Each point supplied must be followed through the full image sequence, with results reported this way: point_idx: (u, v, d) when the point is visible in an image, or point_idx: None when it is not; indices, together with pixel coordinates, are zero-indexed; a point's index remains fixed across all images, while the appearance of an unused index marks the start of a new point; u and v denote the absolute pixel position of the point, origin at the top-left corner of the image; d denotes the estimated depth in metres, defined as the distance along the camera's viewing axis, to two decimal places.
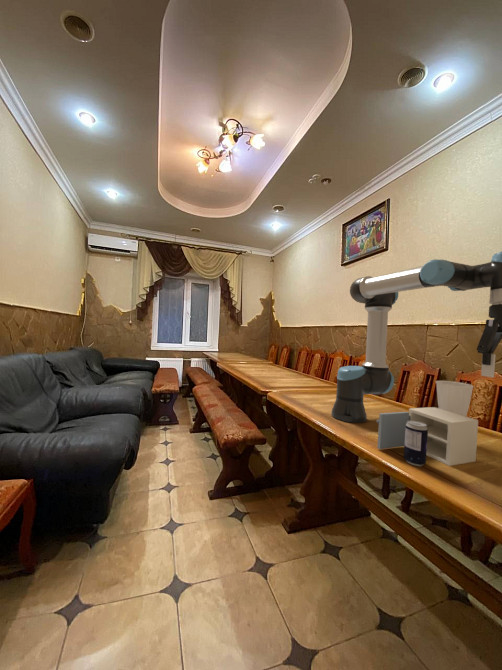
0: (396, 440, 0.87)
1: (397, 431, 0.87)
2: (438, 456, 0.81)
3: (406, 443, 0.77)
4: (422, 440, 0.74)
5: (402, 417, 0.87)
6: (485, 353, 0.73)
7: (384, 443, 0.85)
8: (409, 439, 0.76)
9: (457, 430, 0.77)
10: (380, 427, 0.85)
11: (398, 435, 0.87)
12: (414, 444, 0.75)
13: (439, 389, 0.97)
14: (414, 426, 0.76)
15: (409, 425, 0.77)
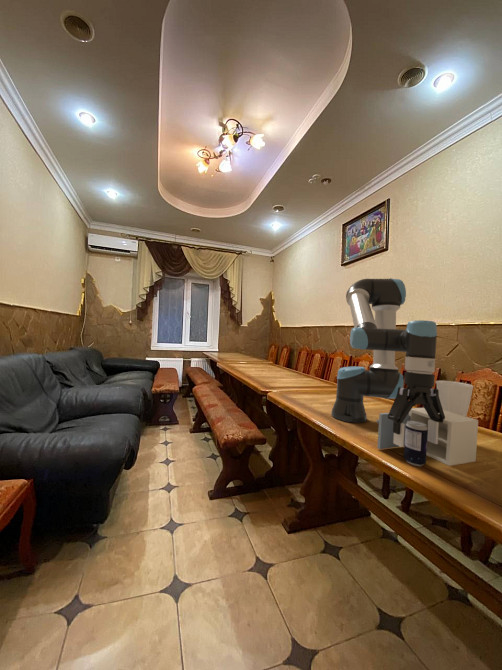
0: None
1: None
2: (438, 456, 0.81)
3: (406, 443, 0.77)
4: (422, 440, 0.74)
5: None
6: (395, 422, 0.73)
7: (384, 443, 0.85)
8: (409, 439, 0.76)
9: (457, 430, 0.77)
10: (380, 427, 0.85)
11: None
12: (414, 444, 0.75)
13: (439, 389, 0.97)
14: (414, 426, 0.76)
15: (409, 425, 0.77)
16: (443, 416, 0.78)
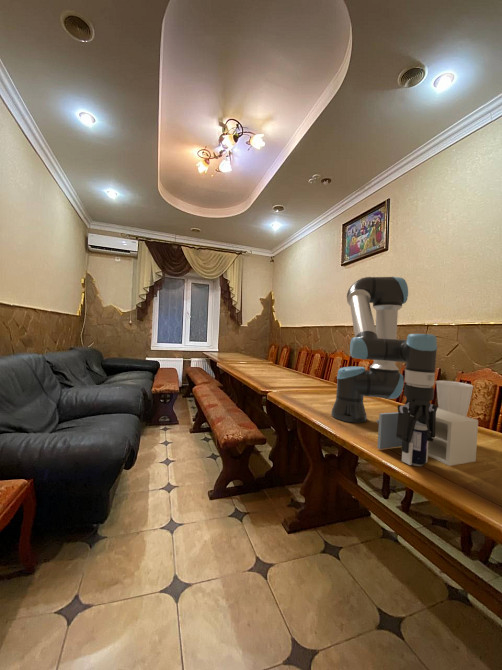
0: (396, 440, 0.87)
1: None
2: (438, 456, 0.81)
3: None
4: (422, 440, 0.74)
5: None
6: (403, 441, 0.76)
7: (384, 443, 0.85)
8: None
9: (457, 430, 0.77)
10: (380, 427, 0.85)
11: None
12: (414, 444, 0.75)
13: (439, 389, 0.97)
14: None
15: None
16: (433, 434, 0.78)
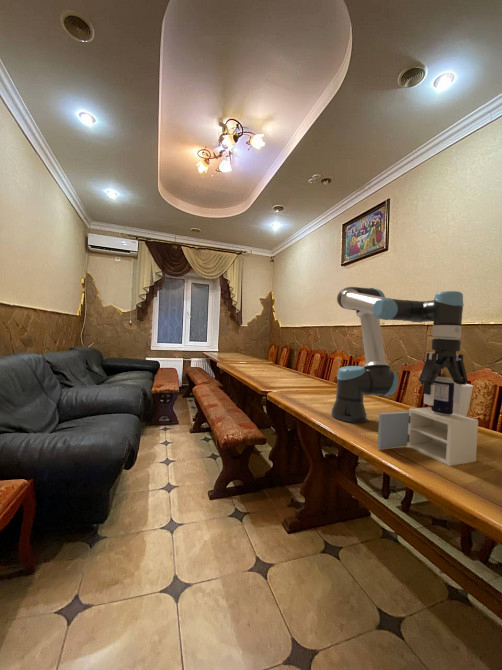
0: (396, 440, 0.87)
1: (397, 431, 0.87)
2: (438, 456, 0.81)
3: (434, 396, 0.85)
4: (450, 392, 0.82)
5: (402, 417, 0.87)
6: (426, 384, 0.82)
7: (384, 443, 0.85)
8: (437, 392, 0.84)
9: (457, 430, 0.77)
10: (380, 427, 0.85)
11: (398, 435, 0.87)
12: (442, 396, 0.83)
13: None
14: (442, 379, 0.83)
15: (437, 379, 0.84)
16: (466, 379, 0.87)
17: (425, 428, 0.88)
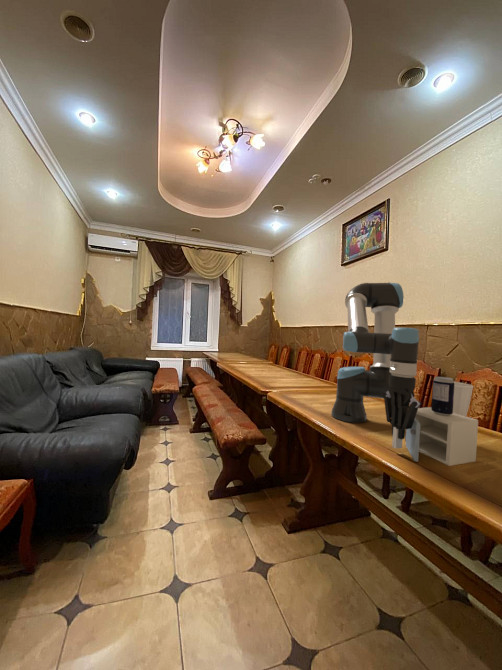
0: None
1: None
2: (438, 456, 0.81)
3: (434, 396, 0.85)
4: (450, 392, 0.82)
5: None
6: None
7: None
8: (437, 392, 0.84)
9: (457, 430, 0.77)
10: (418, 437, 0.77)
11: None
12: (442, 396, 0.83)
13: None
14: (442, 380, 0.83)
15: (437, 379, 0.84)
16: (404, 426, 0.80)
17: (425, 428, 0.88)
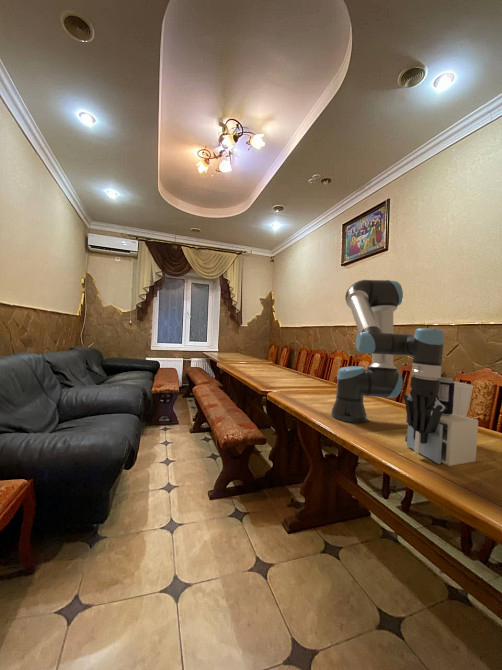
0: None
1: None
2: None
3: None
4: (450, 392, 0.82)
5: None
6: None
7: None
8: None
9: (457, 430, 0.77)
10: (441, 439, 0.77)
11: None
12: (442, 396, 0.83)
13: None
14: (442, 380, 0.83)
15: None
16: (427, 430, 0.77)
17: None
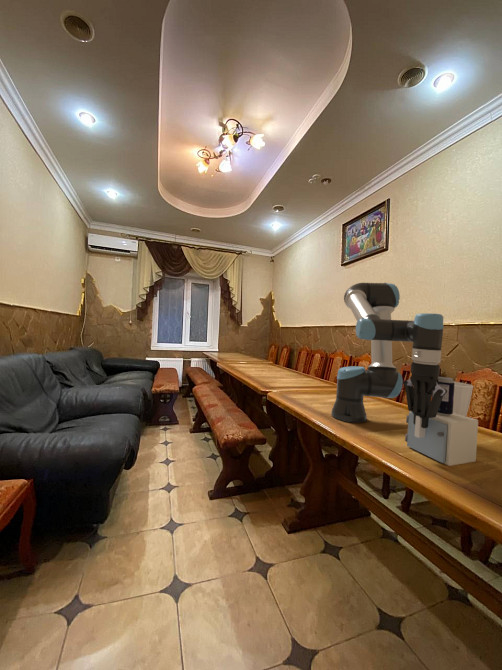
0: None
1: None
2: None
3: None
4: (450, 392, 0.82)
5: None
6: None
7: None
8: None
9: (457, 430, 0.77)
10: (446, 439, 0.77)
11: None
12: None
13: None
14: (442, 380, 0.83)
15: None
16: (428, 414, 0.78)
17: None
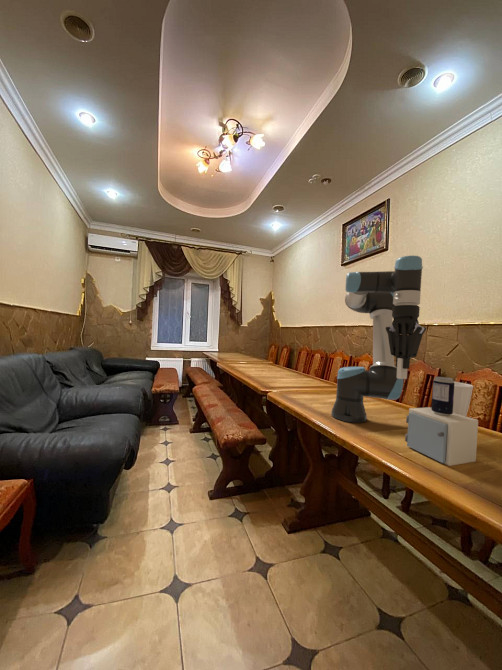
0: None
1: None
2: None
3: (434, 396, 0.85)
4: (450, 392, 0.82)
5: None
6: None
7: None
8: (437, 392, 0.84)
9: (457, 430, 0.77)
10: (446, 439, 0.77)
11: None
12: (442, 396, 0.83)
13: None
14: (442, 380, 0.83)
15: (437, 379, 0.84)
16: (409, 354, 0.79)
17: None
